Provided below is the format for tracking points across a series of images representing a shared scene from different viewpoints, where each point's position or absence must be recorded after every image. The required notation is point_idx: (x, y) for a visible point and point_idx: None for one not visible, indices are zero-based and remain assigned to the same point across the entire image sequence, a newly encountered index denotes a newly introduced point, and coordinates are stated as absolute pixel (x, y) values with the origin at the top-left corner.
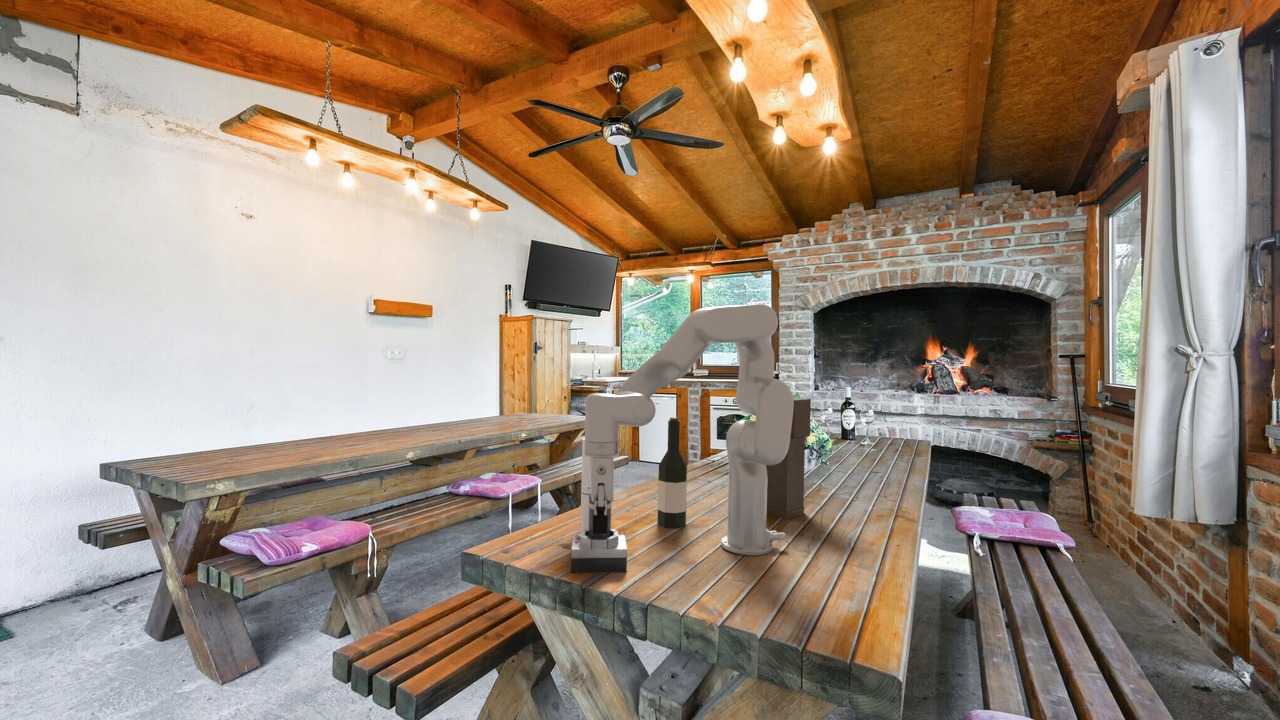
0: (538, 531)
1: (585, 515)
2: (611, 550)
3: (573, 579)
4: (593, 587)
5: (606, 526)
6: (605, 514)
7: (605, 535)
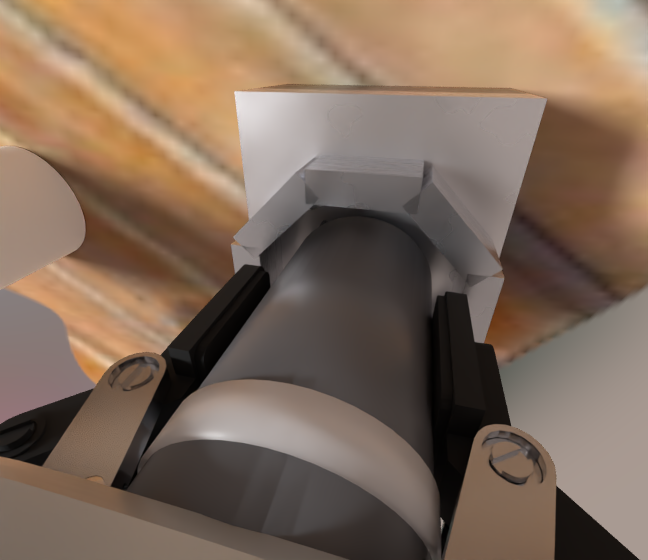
0: (97, 365)
1: (2, 282)
2: (510, 217)
3: (516, 332)
4: (641, 275)
5: (469, 331)
6: (545, 469)
7: (424, 280)
